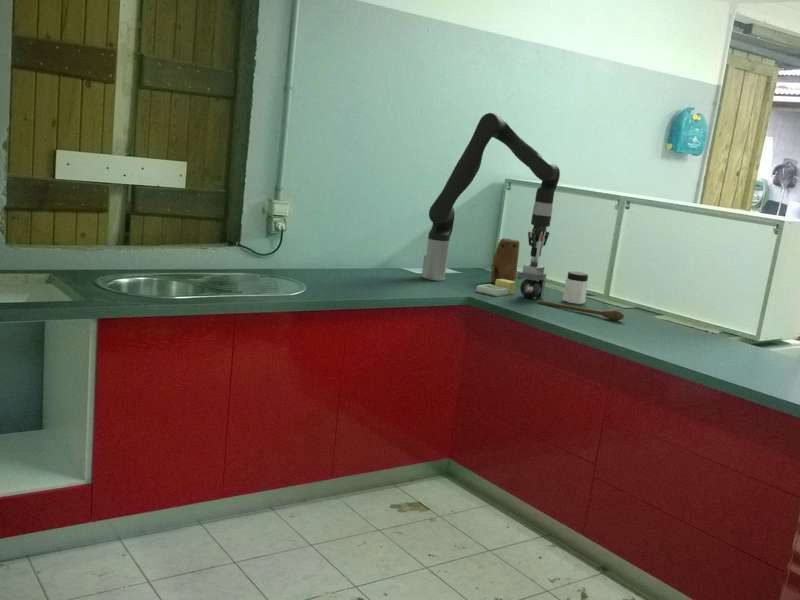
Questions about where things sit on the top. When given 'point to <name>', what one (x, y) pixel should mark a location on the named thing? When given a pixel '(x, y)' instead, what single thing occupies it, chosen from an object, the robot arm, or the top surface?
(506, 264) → the block
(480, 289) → the tray
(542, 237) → the pin
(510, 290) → the block
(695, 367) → the top surface
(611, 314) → the brown wooden spoon
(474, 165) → the robot arm
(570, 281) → the jar
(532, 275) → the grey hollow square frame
